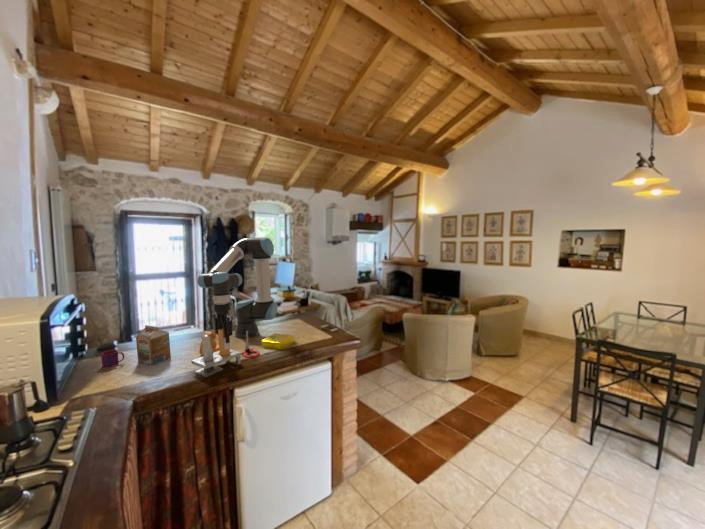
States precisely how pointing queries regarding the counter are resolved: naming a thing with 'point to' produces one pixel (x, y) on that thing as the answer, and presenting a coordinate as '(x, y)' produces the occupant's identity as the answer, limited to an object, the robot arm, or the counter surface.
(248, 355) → the tow hook
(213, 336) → the bracket
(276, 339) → the element tile
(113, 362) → the mug
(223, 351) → the wedge pin
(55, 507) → the counter surface
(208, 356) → the windowed plate knob
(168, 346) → the milk carton
